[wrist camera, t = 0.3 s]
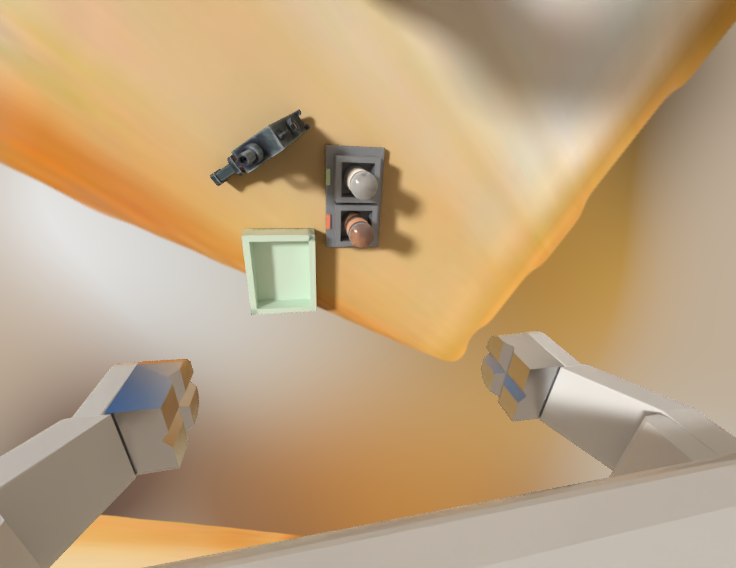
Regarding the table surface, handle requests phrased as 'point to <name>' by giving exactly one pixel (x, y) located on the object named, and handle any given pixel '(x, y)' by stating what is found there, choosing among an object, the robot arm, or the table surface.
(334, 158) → the block
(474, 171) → the table surface
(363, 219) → the fuse
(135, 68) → the table surface
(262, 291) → the tray
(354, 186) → the ball
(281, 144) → the gun
